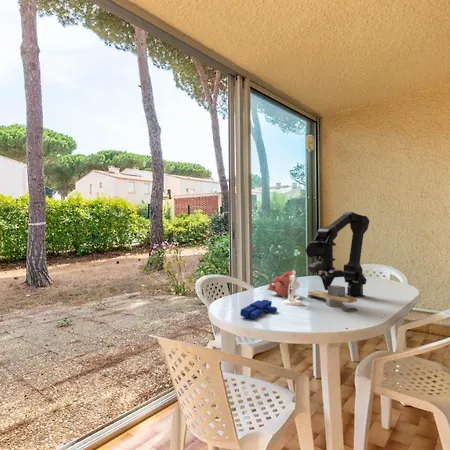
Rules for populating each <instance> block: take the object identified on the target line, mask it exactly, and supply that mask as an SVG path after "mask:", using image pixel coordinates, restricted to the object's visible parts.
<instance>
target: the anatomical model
mask: <svg viewBox="0 0 450 450" xmlns="http://www.w3.org/2000/svg"><path fill="white" fill-rule="evenodd" d="M292 272H293V271H291V270H288V271H286V272H283V273H282V275H279V276H276V277H275V278H274V279H272V281H268V286H267V287H268V288H266V290H267V291H272V292H274V293H275V294H276V296H281V297H288V288H289V285H290V284H291V282H292V281H291V280H290V277H289V276H290V275H293V273H292ZM295 276H296V274H295ZM296 277H297V276H296ZM272 283H273V284H272ZM291 293H292V289H291V286H290V294H291Z"/></svg>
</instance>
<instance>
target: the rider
mask: <svg viewBox="0 0 450 450" xmlns="http://www.w3.org/2000/svg"><path fill="white" fill-rule="evenodd" d="M327 292H328V295H331V296H335V297H343V296H347V295H346V294H347V293H346V286H342V285H330V286H328V290H327Z"/></svg>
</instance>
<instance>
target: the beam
mask: <svg viewBox="0 0 450 450" xmlns="http://www.w3.org/2000/svg"><path fill="white" fill-rule="evenodd" d="M307 292H308V294H307V295H314V296H318V297H317V298H322V299H332V300H336V301H341V302H343V303H345V304H348V303H358V297H352V296H349V295H346V296H343V297H335V296H331V295H328V291H321V290H308V291H307Z"/></svg>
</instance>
